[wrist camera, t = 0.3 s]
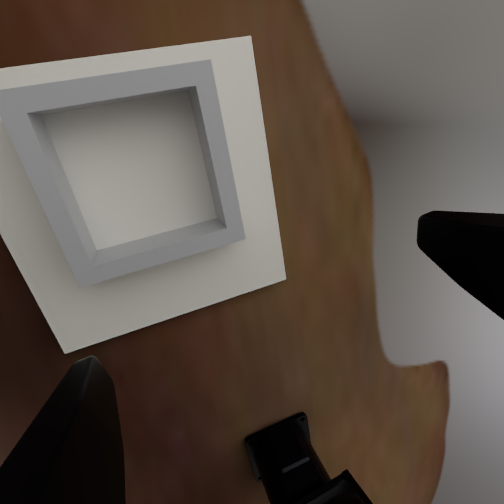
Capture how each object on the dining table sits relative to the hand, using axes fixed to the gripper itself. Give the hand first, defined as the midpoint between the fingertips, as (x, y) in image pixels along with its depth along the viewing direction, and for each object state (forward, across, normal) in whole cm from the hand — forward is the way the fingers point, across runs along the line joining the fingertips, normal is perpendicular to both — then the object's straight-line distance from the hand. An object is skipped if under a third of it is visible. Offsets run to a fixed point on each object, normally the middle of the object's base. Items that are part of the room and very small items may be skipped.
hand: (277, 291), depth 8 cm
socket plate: (+14, +2, +1) cm, 15 cm away
